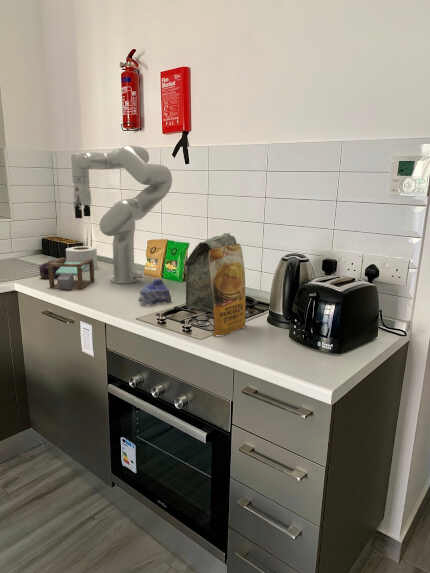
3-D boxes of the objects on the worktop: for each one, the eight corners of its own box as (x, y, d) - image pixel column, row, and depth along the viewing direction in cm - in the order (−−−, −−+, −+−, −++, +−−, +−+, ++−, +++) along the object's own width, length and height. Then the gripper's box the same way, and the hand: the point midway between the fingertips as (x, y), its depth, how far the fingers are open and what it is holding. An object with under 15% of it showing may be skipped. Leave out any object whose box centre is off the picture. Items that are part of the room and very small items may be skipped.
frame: (94, 281, 203) (93, 258, 201) (81, 289, 189) (80, 265, 187) (64, 280, 205) (63, 257, 202) (49, 288, 191) (47, 263, 188)
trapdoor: (88, 264, 200) (87, 262, 199) (78, 275, 190) (78, 273, 190) (66, 263, 201) (65, 261, 201) (55, 274, 192) (55, 272, 191)
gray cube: (72, 273, 190) (68, 279, 186) (75, 283, 193) (70, 289, 189) (61, 273, 191) (56, 279, 187) (64, 282, 194) (59, 289, 189)
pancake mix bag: (199, 334, 140) (200, 247, 133) (237, 320, 154) (240, 241, 147) (215, 340, 136) (217, 250, 129) (253, 325, 149) (256, 243, 142)
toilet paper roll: (60, 269, 229) (59, 248, 226) (84, 264, 241) (83, 244, 239) (80, 273, 221) (79, 252, 218) (103, 268, 233) (102, 247, 230)
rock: (39, 279, 211) (49, 283, 204) (34, 262, 208) (45, 265, 201) (61, 272, 219) (71, 275, 212) (57, 256, 216) (68, 258, 209)
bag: (209, 294, 186) (210, 230, 179) (243, 300, 179) (246, 233, 172) (181, 308, 166) (181, 236, 160) (218, 315, 159) (220, 240, 152)
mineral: (159, 275, 180) (173, 278, 172) (162, 297, 182) (176, 301, 175) (128, 284, 171) (142, 288, 163) (132, 307, 174) (146, 312, 166)
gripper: (81, 180, 196) (83, 219, 201) (95, 180, 213) (97, 215, 217) (65, 180, 197) (67, 218, 202) (80, 179, 214) (82, 215, 218)
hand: (83, 217), depth 209 cm, fingers open, 9 cm apart
